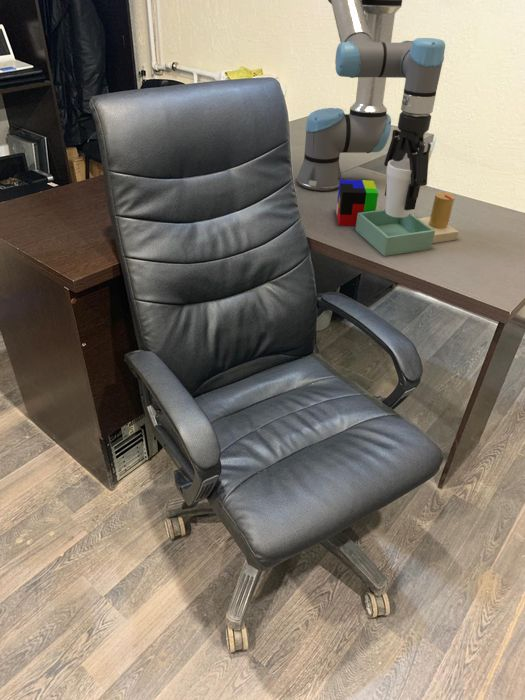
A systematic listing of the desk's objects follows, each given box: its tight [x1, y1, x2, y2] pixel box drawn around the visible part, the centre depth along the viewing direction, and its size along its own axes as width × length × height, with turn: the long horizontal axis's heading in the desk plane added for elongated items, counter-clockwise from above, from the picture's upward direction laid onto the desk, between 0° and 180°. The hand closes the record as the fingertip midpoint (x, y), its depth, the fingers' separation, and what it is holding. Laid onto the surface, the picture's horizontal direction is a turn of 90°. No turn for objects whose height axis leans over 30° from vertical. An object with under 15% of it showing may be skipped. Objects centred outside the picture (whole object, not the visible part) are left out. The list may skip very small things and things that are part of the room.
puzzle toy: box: [335, 179, 379, 227], centre depth 155 cm, size 10×10×10 cm
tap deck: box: [417, 216, 459, 244], centre depth 150 cm, size 11×10×3 cm
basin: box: [354, 208, 435, 257], centre depth 146 cm, size 17×15×5 cm
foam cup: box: [385, 158, 416, 218], centre depth 138 cm, size 10×9×13 cm
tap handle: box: [429, 191, 456, 228], centre depth 147 cm, size 5×5×9 cm
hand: (399, 202), depth 141 cm, fingers closed on foam cup, 9 cm apart
